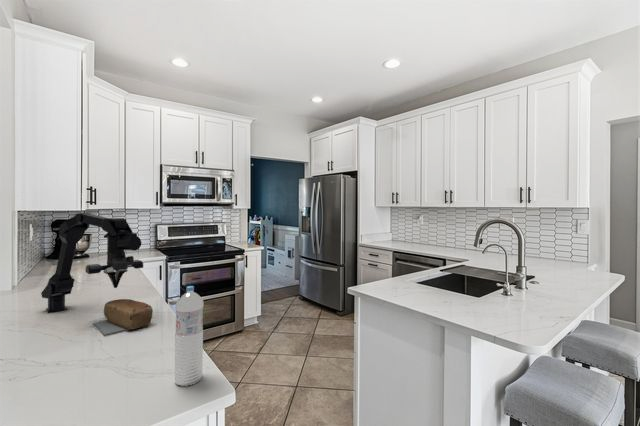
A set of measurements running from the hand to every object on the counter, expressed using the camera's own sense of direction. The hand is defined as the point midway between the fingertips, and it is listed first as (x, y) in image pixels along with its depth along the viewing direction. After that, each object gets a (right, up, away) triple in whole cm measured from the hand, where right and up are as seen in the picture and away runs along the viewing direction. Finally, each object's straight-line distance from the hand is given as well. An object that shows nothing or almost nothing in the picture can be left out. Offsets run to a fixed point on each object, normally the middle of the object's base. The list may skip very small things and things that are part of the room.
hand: (115, 287), depth 122 cm
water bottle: (+48, -15, -41) cm, 65 cm away
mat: (+5, -13, -5) cm, 15 cm away
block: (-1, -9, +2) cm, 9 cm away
